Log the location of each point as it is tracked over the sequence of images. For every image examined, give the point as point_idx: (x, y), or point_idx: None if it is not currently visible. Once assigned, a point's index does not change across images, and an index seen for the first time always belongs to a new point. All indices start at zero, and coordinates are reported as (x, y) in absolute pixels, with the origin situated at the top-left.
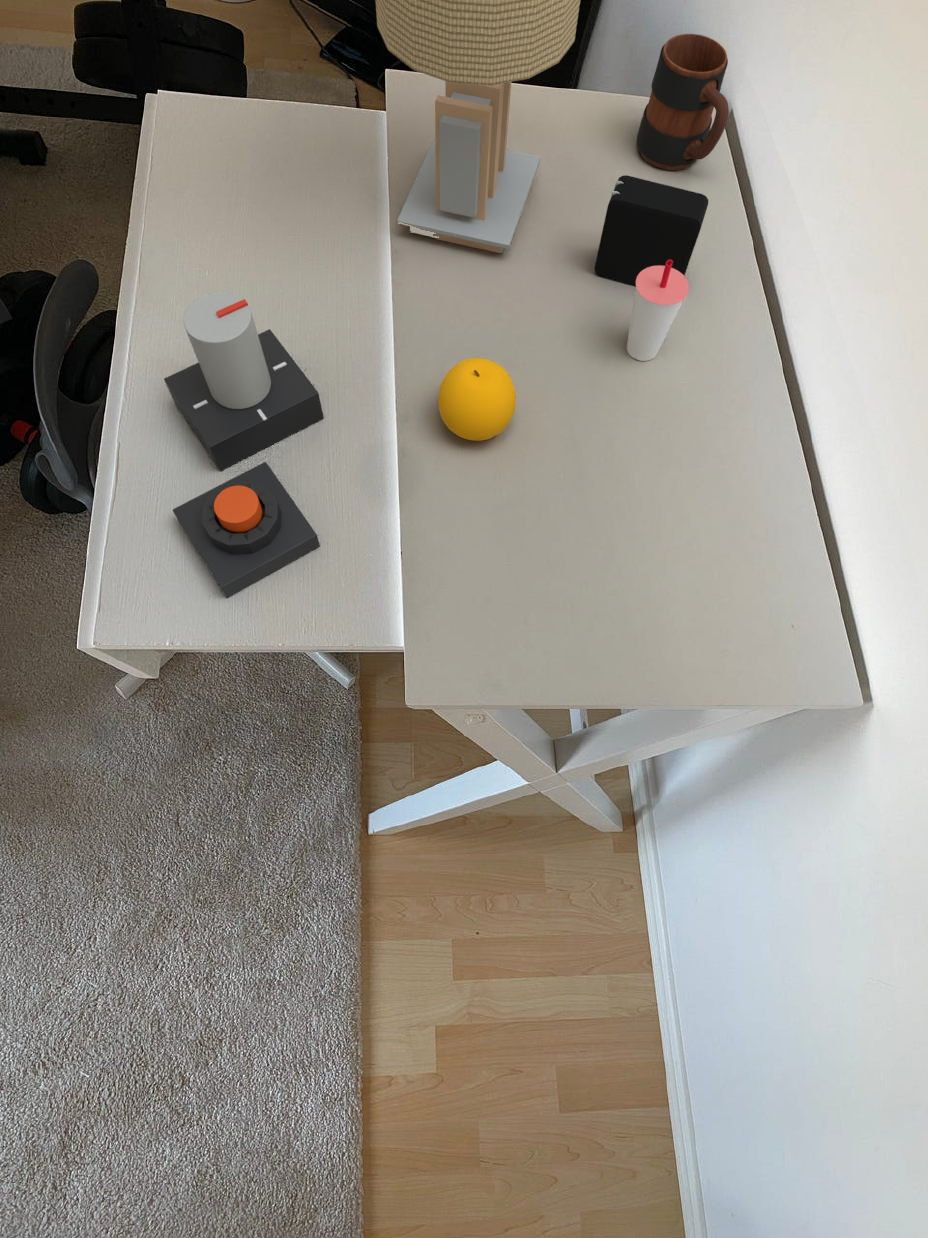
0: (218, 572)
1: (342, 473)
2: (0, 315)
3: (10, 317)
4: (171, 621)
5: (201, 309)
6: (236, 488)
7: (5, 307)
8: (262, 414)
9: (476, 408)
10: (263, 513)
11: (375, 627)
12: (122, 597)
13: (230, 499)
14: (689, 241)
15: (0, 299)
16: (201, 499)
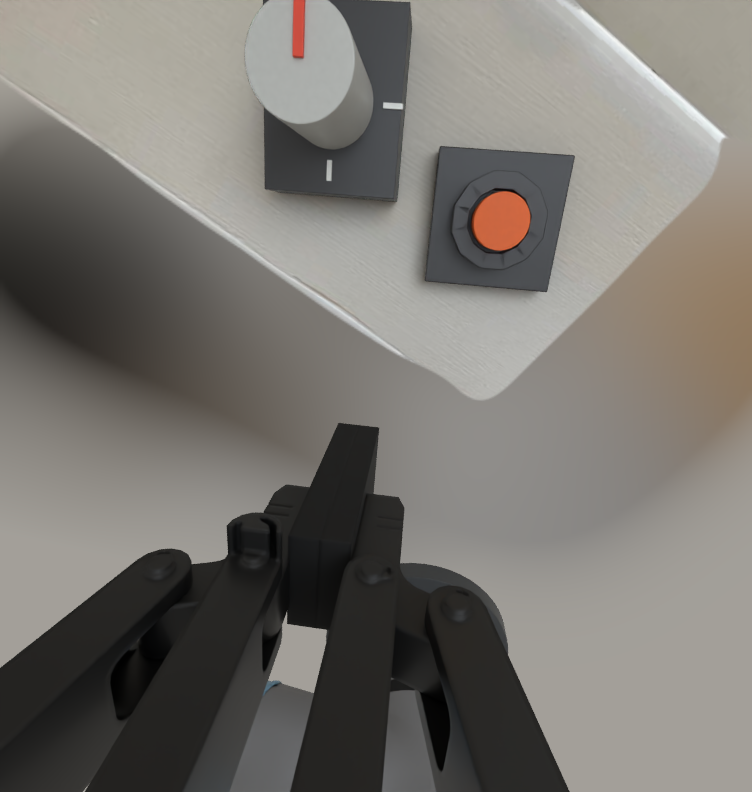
0: (529, 283)
1: (501, 62)
2: (376, 447)
3: (378, 430)
4: (520, 347)
5: (271, 75)
6: (483, 208)
7: (366, 433)
8: (394, 105)
9: None
10: None
11: (700, 170)
12: (463, 369)
13: (492, 224)
14: None
15: (351, 435)
16: (435, 246)
